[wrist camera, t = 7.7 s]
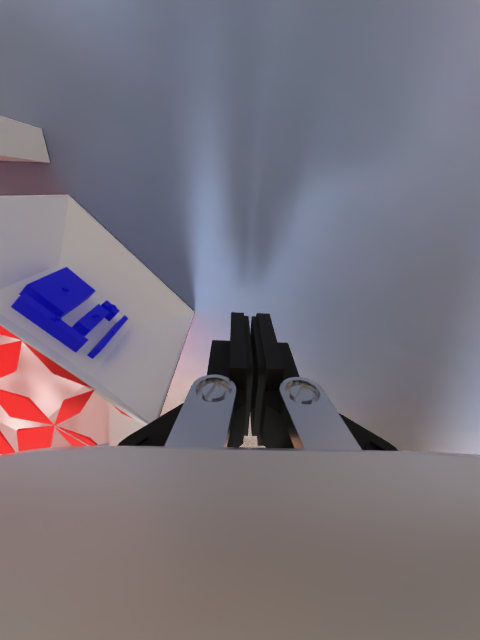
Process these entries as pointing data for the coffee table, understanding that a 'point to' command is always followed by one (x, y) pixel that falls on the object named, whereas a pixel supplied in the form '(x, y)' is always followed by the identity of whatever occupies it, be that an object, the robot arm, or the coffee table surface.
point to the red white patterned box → (79, 330)
